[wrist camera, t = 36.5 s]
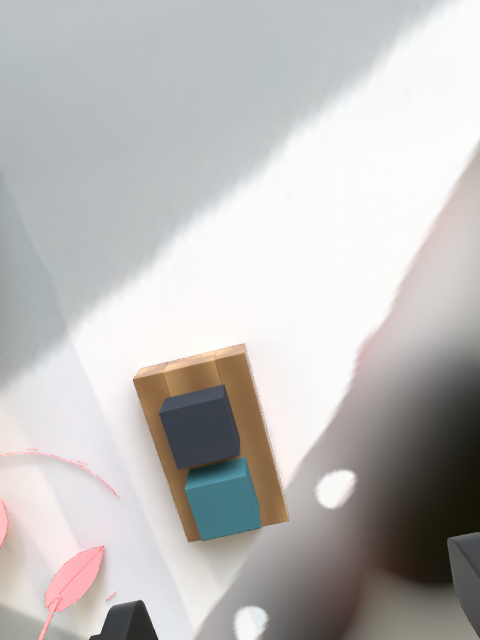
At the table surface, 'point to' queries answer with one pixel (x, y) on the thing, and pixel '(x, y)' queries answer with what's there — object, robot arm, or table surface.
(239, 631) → the table surface
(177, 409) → the dark grey cube
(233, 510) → the teal stepped block
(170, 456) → the block
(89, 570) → the figurine
